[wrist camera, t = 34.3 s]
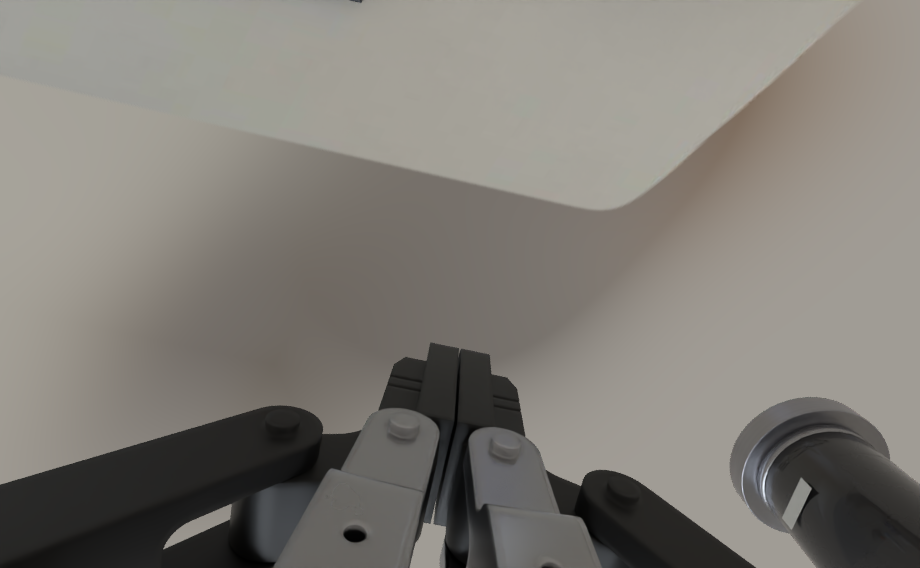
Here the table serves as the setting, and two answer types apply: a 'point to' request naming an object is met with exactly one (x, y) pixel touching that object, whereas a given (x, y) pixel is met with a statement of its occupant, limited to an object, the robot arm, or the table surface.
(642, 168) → the table surface
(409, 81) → the table surface
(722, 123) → the table surface
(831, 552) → the robot arm
